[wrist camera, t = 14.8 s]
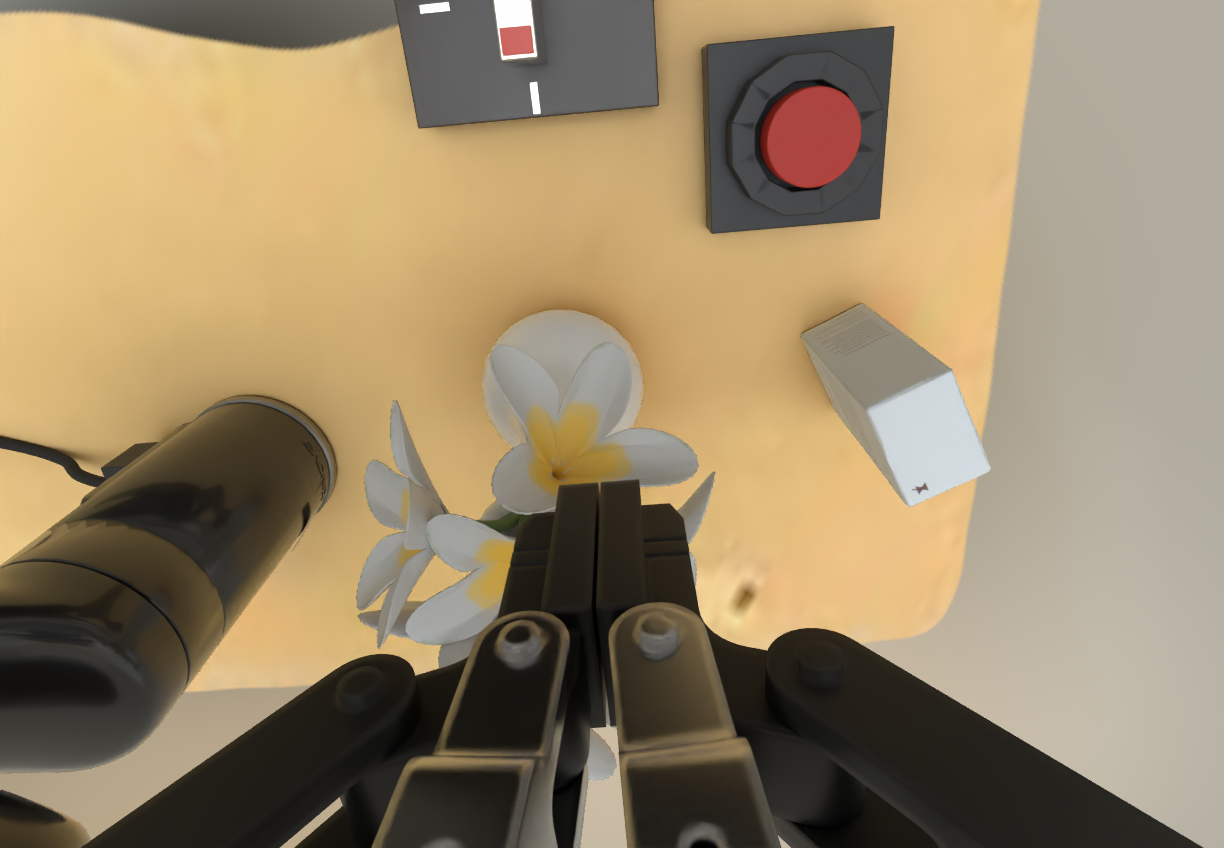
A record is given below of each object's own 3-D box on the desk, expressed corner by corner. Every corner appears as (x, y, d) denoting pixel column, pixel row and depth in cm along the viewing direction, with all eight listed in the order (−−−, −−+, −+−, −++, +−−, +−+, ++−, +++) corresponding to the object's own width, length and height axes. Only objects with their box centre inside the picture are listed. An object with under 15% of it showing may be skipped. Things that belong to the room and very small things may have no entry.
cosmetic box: (898, 381, 43) (995, 474, 32) (834, 411, 43) (907, 512, 33) (863, 297, 40) (955, 367, 29) (796, 331, 41) (862, 411, 30)
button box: (706, 227, 39) (715, 239, 35) (701, 47, 35) (711, 40, 31) (866, 213, 38) (892, 224, 35) (878, 30, 35) (909, 21, 31)
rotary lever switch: (432, 127, 37) (417, 128, 34) (391, -102, 32) (369, -122, 29) (655, 106, 36) (659, 105, 33) (643, -129, 32) (646, -152, 29)
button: (759, 188, 34) (766, 192, 33) (760, 91, 32) (767, 90, 31) (847, 180, 34) (858, 183, 33) (852, 82, 32) (865, 81, 31)
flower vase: (497, 512, 47) (386, 893, 24) (441, 240, 39) (201, 423, 16) (686, 495, 46) (756, 870, 23) (667, 215, 38) (745, 371, 16)
